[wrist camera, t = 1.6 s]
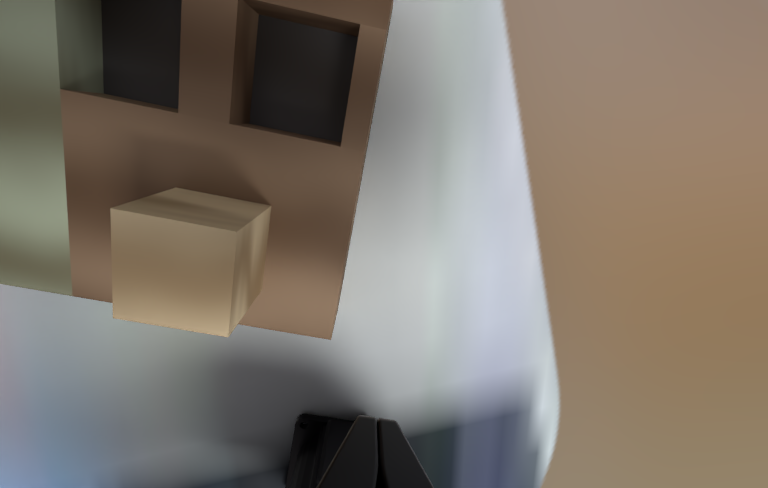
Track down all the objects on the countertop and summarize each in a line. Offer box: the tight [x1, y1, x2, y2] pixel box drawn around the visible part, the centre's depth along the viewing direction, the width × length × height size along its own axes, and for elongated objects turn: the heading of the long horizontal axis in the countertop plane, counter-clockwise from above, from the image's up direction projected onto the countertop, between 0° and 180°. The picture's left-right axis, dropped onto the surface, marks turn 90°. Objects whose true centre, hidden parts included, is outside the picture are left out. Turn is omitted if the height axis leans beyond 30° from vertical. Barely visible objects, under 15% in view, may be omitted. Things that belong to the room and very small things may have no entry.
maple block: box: [110, 188, 271, 337], centre depth 15 cm, size 4×4×4 cm
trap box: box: [0, 0, 393, 340], centre depth 15 cm, size 15×18×6 cm
